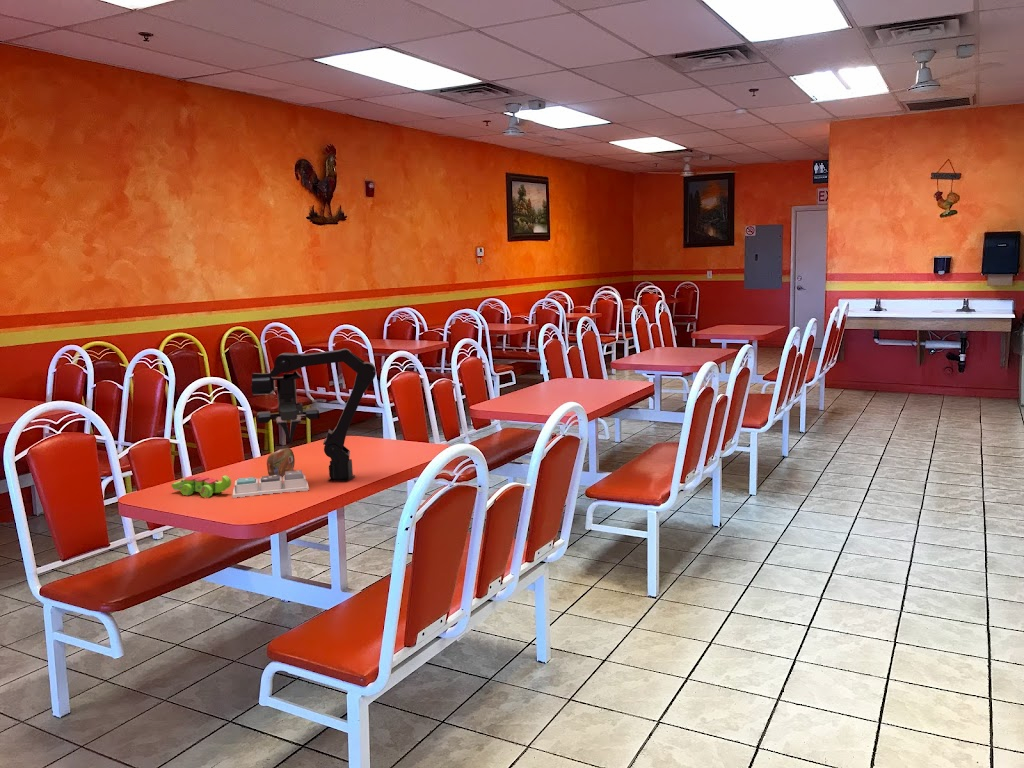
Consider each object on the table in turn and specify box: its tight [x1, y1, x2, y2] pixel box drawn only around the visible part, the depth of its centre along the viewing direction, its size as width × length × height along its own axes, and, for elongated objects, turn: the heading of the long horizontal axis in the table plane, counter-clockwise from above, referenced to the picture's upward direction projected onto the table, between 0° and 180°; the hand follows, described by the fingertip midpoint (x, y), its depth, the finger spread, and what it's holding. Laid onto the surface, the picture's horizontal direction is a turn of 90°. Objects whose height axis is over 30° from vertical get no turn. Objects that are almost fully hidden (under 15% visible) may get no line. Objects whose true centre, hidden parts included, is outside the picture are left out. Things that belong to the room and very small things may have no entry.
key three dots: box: [261, 475, 279, 482], centre depth 256 cm, size 5×5×3 cm
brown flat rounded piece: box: [266, 447, 296, 478], centre depth 276 cm, size 15×3×8 cm, turn 168°
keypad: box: [232, 473, 310, 499], centre depth 256 cm, size 22×9×4 cm, turn 106°
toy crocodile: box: [171, 474, 232, 498], centre depth 255 cm, size 20×7×6 cm, turn 69°
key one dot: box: [237, 476, 256, 485], centre depth 254 cm, size 5×5×3 cm
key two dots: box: [285, 469, 303, 480], centre depth 258 cm, size 5×5×3 cm
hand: (290, 442), depth 264 cm, fingers closed
